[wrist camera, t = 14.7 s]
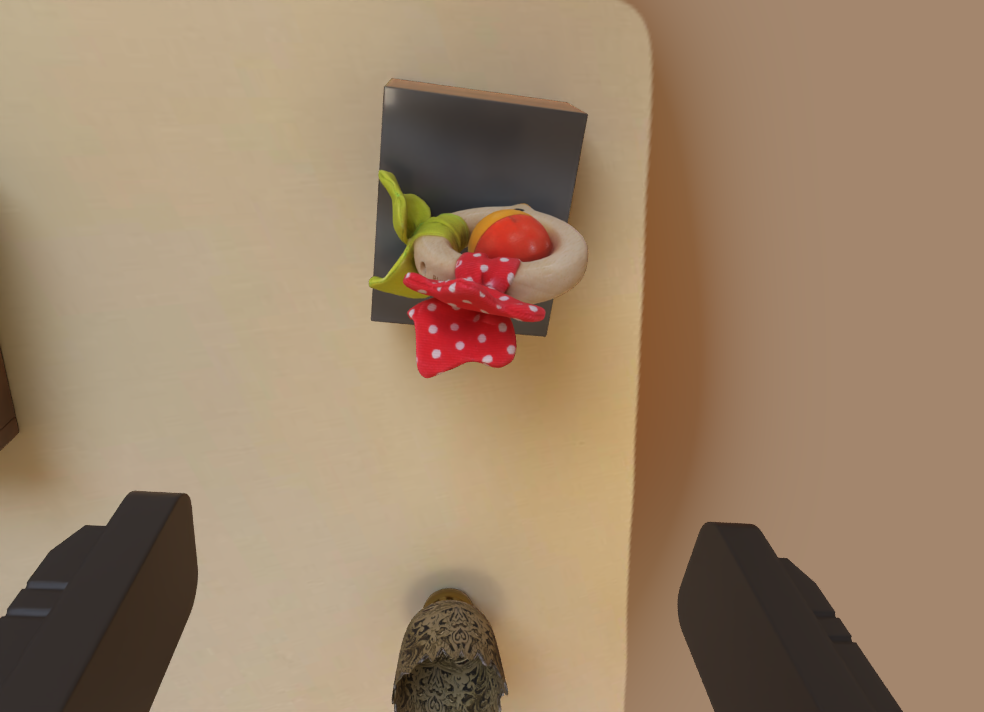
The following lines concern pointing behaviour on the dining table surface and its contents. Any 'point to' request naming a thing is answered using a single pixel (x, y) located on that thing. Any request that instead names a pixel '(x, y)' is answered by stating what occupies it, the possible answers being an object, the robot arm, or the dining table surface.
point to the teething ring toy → (477, 276)
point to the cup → (449, 659)
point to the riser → (471, 165)
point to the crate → (6, 410)
